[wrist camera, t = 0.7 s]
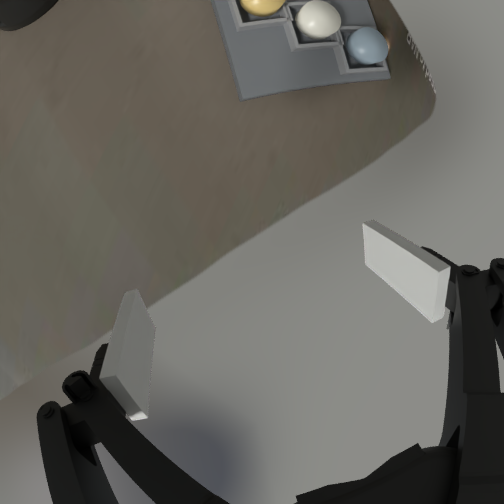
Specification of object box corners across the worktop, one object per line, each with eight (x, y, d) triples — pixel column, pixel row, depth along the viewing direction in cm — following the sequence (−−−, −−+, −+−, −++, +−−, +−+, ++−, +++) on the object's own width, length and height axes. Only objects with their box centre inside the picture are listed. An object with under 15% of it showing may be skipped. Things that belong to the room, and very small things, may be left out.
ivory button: (290, 7, 27) (296, 0, 25) (326, 6, 28) (334, 0, 25) (301, 40, 29) (308, 35, 27) (337, 38, 30) (345, 33, 27)
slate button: (341, 31, 29) (350, 26, 27) (372, 31, 30) (382, 27, 28) (351, 65, 31) (361, 62, 29) (382, 64, 32) (392, 61, 30)
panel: (208, -7, 28) (210, -20, 24) (351, -15, 30) (365, -24, 26) (240, 101, 35) (245, 97, 31) (381, 80, 37) (398, 77, 33)
